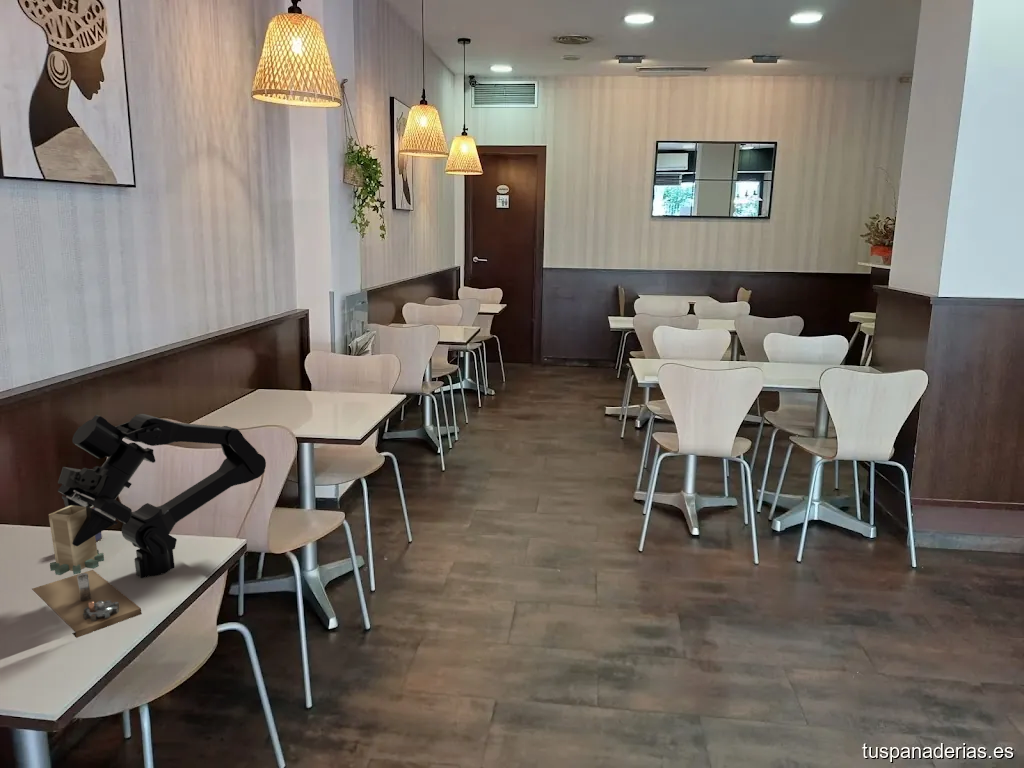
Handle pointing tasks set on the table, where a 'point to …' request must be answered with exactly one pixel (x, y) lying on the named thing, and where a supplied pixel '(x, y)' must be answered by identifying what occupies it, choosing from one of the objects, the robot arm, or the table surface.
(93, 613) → the drive gear
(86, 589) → the peg
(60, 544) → the open-ended square tube
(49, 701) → the table surface
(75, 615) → the gear board
